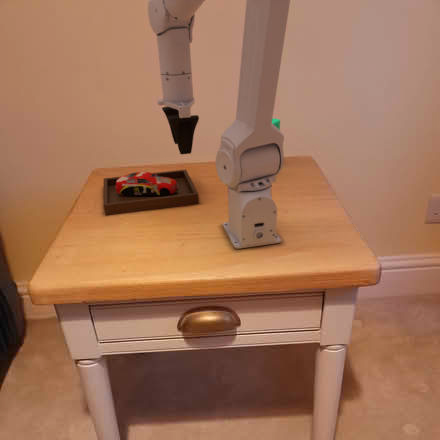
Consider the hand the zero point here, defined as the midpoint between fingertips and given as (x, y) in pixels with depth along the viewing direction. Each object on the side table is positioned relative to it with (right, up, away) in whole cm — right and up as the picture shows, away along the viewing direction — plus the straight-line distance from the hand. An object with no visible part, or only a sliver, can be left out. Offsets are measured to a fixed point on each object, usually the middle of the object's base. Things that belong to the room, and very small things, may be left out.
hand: (182, 148), depth 85 cm
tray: (-7, -8, +5) cm, 12 cm away
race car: (-8, -8, +4) cm, 12 cm away
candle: (+19, +2, +18) cm, 27 cm away
